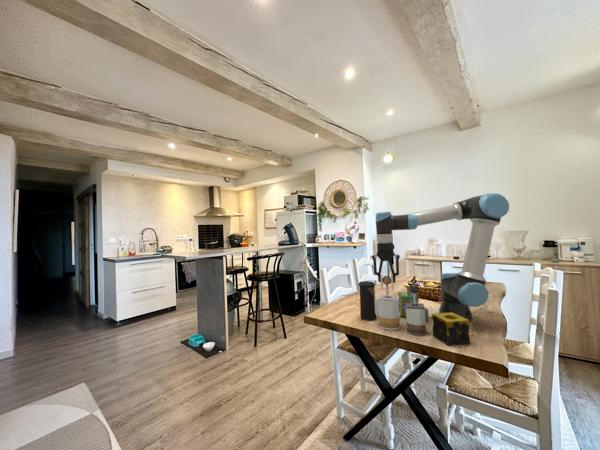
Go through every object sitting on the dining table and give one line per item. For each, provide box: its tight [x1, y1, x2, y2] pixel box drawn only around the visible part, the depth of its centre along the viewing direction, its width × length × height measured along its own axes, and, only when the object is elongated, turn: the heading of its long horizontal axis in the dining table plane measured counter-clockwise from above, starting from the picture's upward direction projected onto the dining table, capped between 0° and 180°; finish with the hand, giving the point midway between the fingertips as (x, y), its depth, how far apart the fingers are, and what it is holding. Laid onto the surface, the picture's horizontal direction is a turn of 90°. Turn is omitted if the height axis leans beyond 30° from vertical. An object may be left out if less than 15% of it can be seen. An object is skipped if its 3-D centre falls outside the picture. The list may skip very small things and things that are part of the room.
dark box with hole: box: [431, 312, 471, 346], centre depth 106 cm, size 10×10×10 cm
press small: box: [405, 303, 430, 337], centre depth 115 cm, size 10×8×12 cm
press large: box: [374, 294, 402, 331], centre depth 123 cm, size 12×10×14 cm
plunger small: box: [408, 283, 420, 306], centre depth 115 cm, size 4×4×16 cm
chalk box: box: [397, 287, 420, 318], centre depth 137 cm, size 9×9×15 cm
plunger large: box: [382, 275, 392, 302], centre depth 123 cm, size 4×4×18 cm
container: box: [357, 280, 378, 321], centre depth 136 cm, size 9×9×20 cm
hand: (387, 288), depth 123 cm, fingers closed on plunger large, 4 cm apart
